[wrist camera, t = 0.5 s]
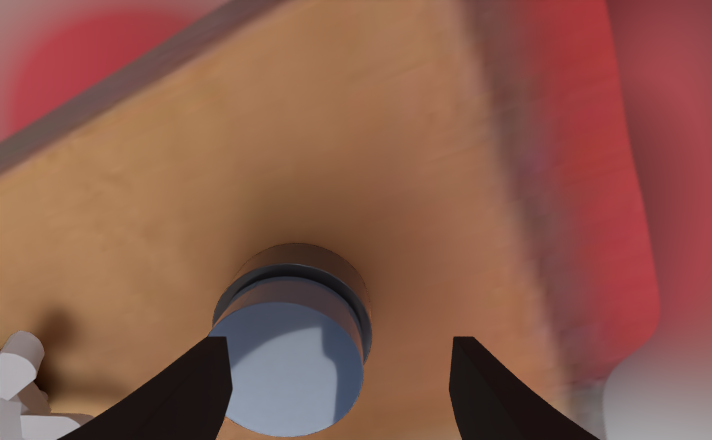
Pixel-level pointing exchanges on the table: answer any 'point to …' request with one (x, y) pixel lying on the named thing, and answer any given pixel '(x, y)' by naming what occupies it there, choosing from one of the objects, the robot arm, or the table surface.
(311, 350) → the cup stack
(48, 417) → the bunny figurine
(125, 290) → the table surface
